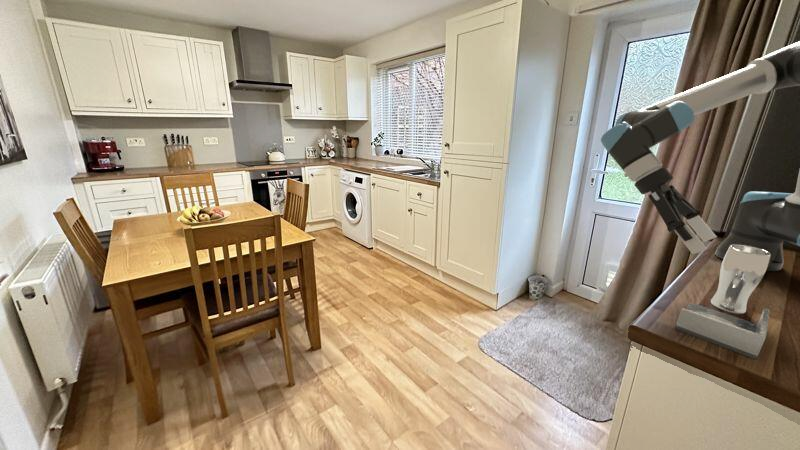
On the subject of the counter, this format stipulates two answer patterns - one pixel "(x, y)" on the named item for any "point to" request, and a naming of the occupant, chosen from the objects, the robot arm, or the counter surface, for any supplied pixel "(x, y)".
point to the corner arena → (724, 329)
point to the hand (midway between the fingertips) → (705, 245)
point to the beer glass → (739, 277)
